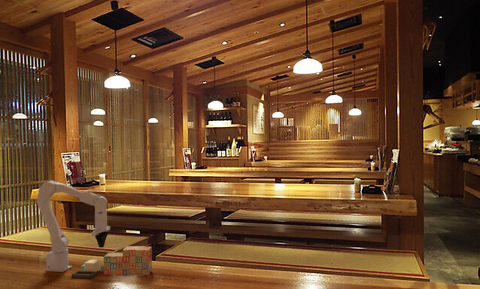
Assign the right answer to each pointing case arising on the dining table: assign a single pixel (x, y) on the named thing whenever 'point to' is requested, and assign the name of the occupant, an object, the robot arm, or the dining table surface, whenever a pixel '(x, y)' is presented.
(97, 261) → the cream block
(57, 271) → the robot arm
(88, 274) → the trap pit
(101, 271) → the lane walls
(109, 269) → the stack of blocks
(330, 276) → the dining table surface
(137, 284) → the dining table surface
